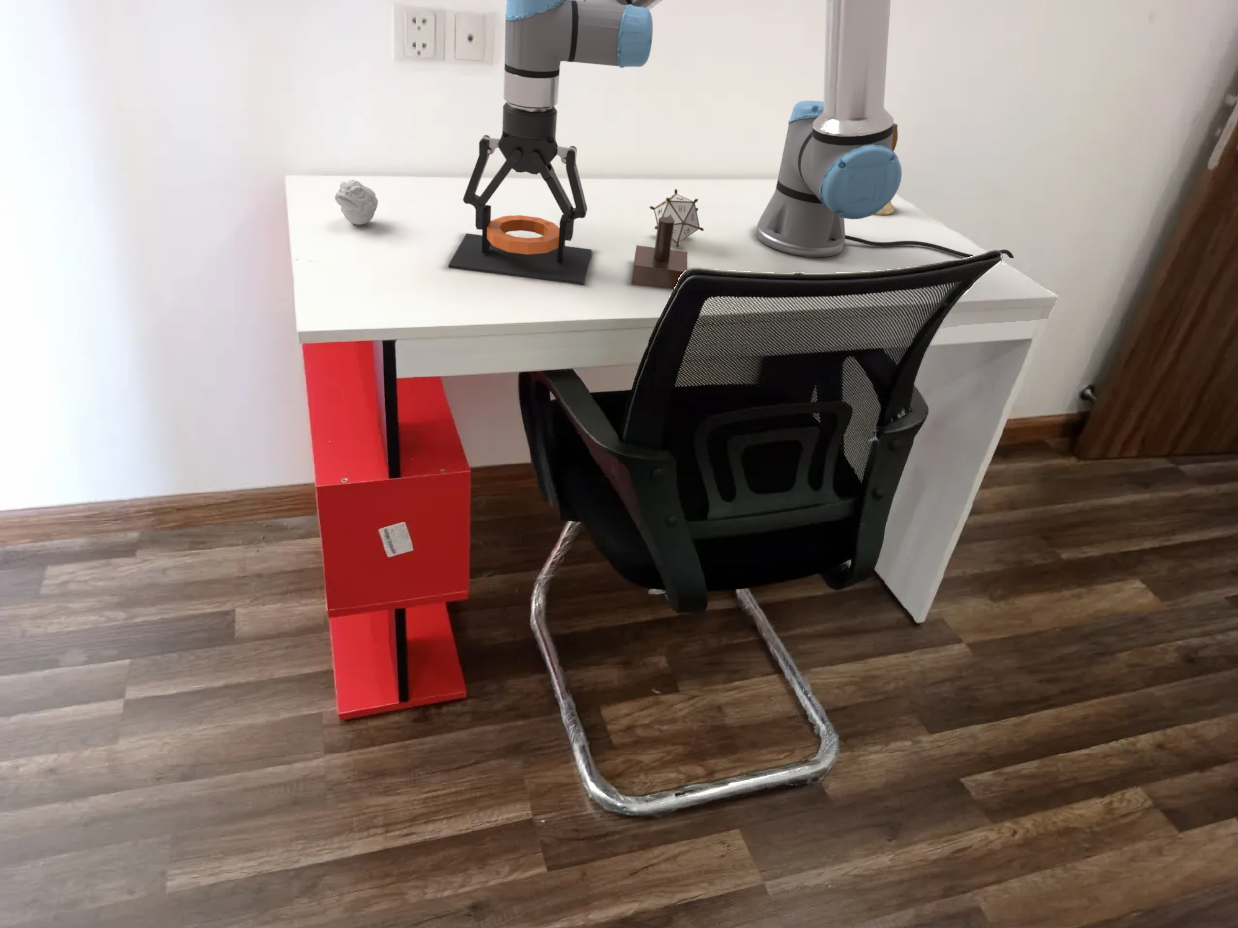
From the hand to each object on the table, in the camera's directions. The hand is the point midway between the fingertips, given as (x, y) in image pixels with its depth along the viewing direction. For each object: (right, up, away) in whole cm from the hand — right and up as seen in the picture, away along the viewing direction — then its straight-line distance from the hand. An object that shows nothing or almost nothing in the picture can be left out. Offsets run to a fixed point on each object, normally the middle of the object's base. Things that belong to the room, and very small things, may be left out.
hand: (523, 254), depth 138 cm
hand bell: (+65, +18, +40) cm, 78 cm away
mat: (0, -1, 0) cm, 1 cm away
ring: (0, +2, -1) cm, 2 cm away
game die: (+24, +5, +13) cm, 28 cm away
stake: (+21, -3, +1) cm, 21 cm away
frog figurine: (-27, +6, +5) cm, 28 cm away
